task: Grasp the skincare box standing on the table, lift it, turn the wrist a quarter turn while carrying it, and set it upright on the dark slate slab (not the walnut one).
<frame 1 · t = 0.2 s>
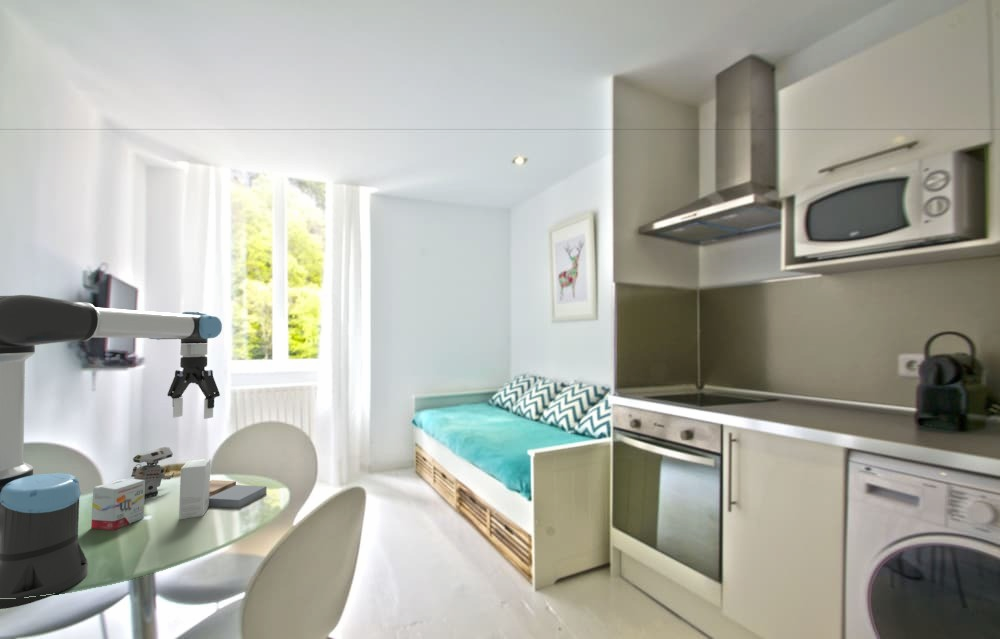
hand: (192, 417, 140), 27 cm above the table, fingers open, 13 cm apart
walnut stand: (211, 494, 141), on the table
ink box: (118, 523, 120), on the table
skincare box: (195, 513, 126), on the table
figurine: (153, 493, 144), on the table
slate slab: (237, 499, 136), on the table
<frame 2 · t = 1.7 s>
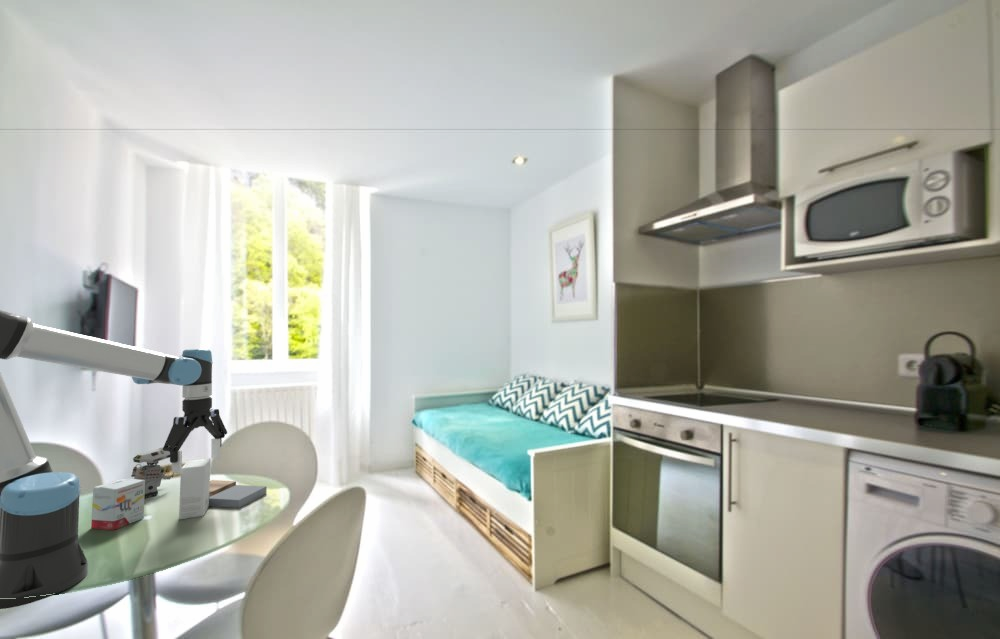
hand: (197, 465, 127), 15 cm above the table, fingers open, 13 cm apart
nothing on the table moved.
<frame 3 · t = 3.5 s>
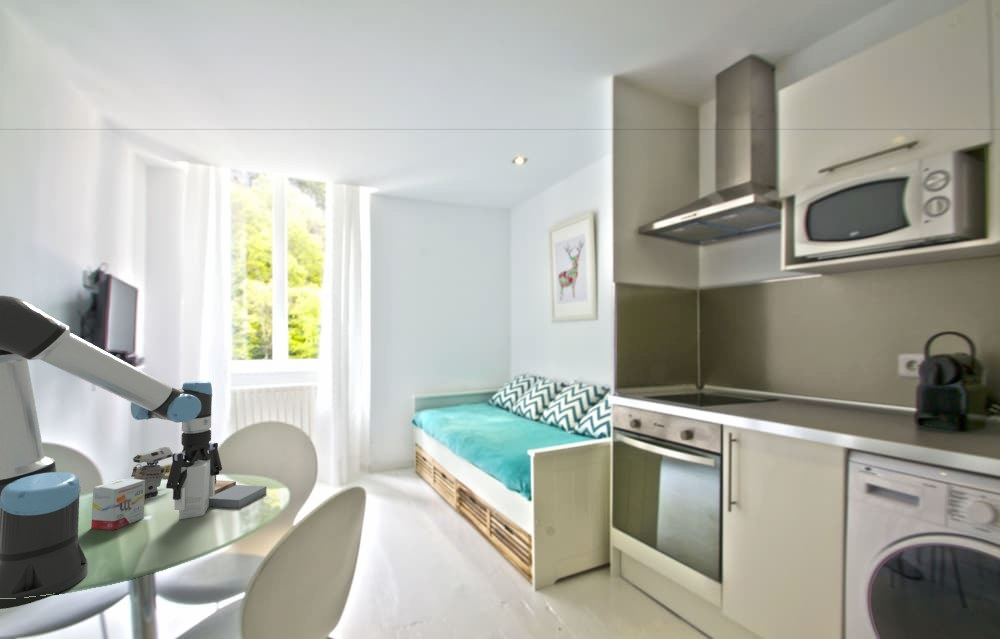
hand: (195, 502, 126), 3 cm above the table, fingers closed on skincare box, 10 cm apart
skincare box: (195, 513, 126), on the table, touching gripper
everything else where it was.
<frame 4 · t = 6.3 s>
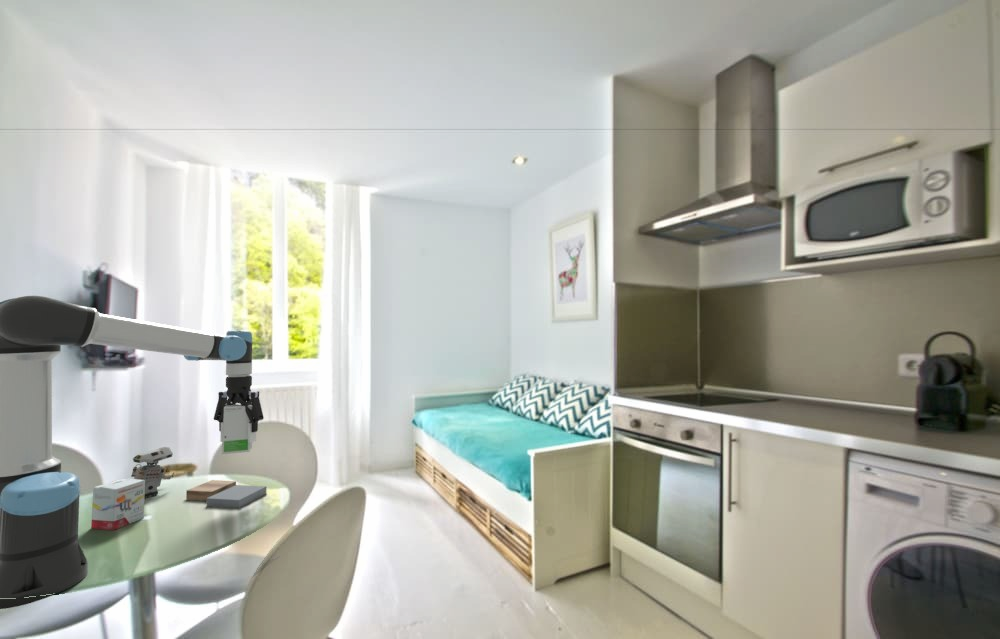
hand: (238, 441, 137), 19 cm above the table, fingers closed on skincare box, 10 cm apart
skincare box: (238, 451, 137), point 16 cm above the table, touching gripper
everything else where it was.
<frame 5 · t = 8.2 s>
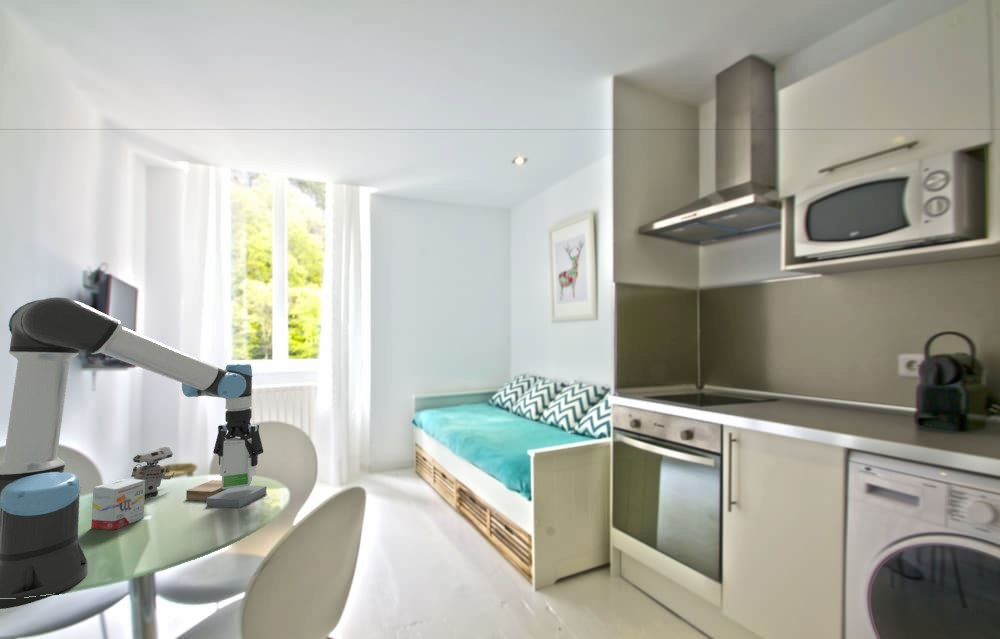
hand: (238, 475, 137), 8 cm above the table, fingers closed on skincare box, 10 cm apart
skincare box: (237, 485, 136), point 5 cm above the table, touching gripper
everything else where it was.
when the fingers open (7 cm above the table, at t = 9.4 s): skincare box drops 1 cm, resting on slate slab.
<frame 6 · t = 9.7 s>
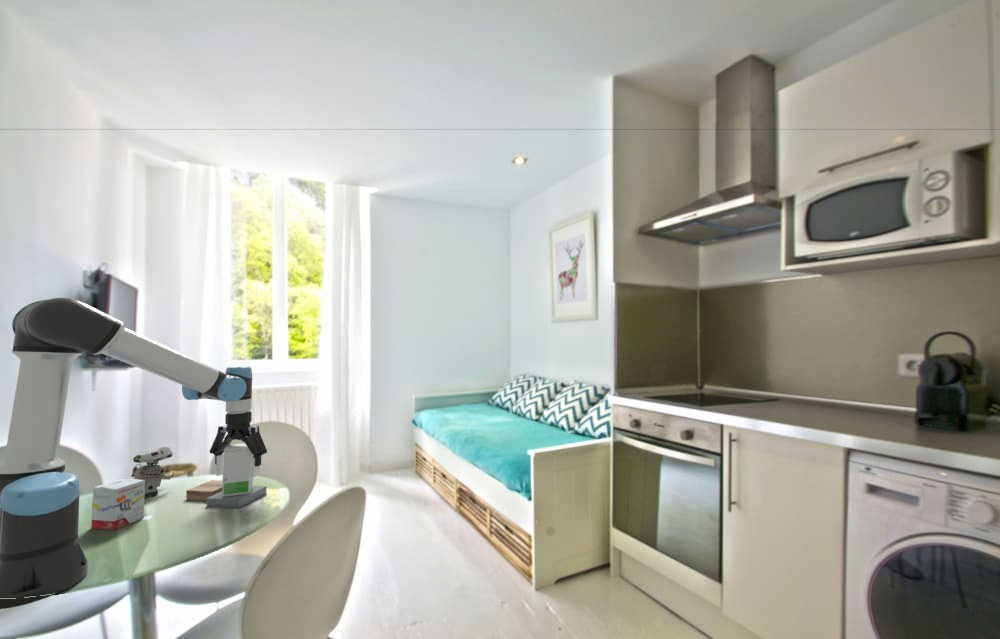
hand: (237, 475, 137), 8 cm above the table, fingers open, 13 cm apart
skincare box: (238, 492, 136), point 2 cm above the table, touching slate slab
everything else where it was.
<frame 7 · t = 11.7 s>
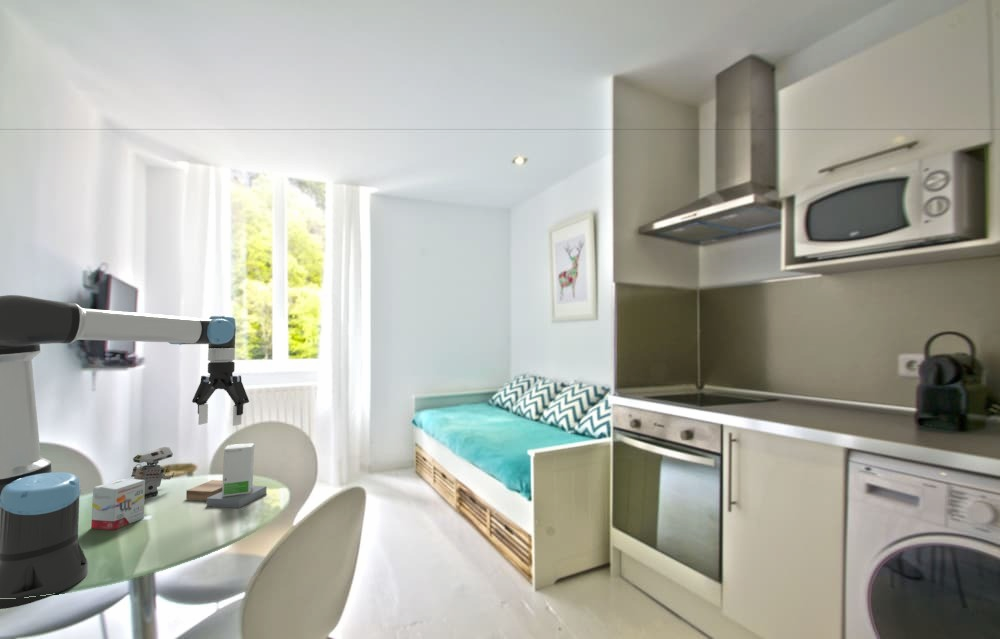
hand: (219, 424, 136), 25 cm above the table, fingers open, 13 cm apart
nothing on the table moved.
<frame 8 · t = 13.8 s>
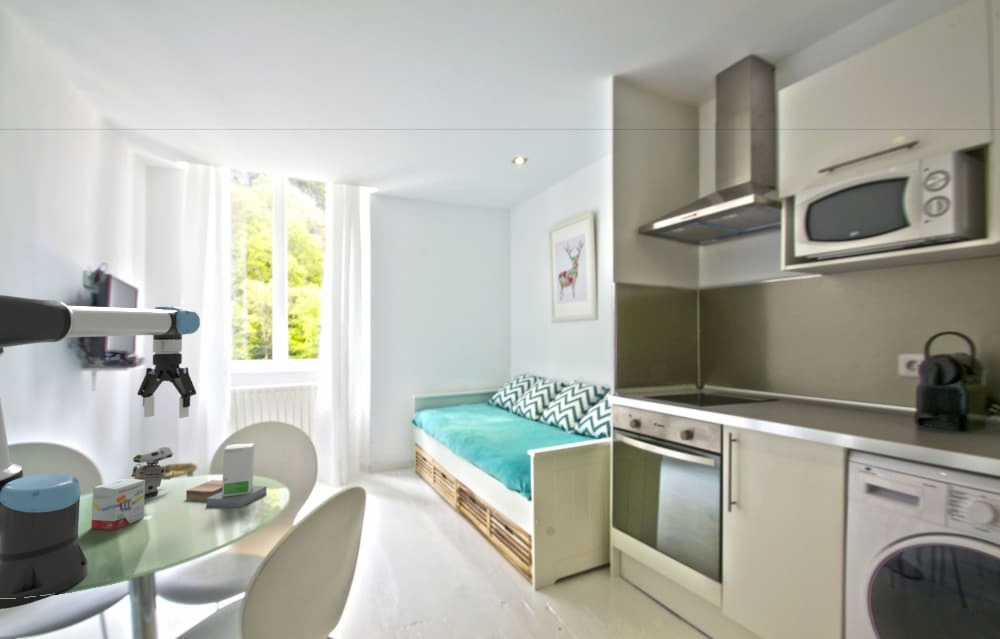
hand: (166, 417, 134), 29 cm above the table, fingers open, 13 cm apart
nothing on the table moved.
at the end: skincare box inside the target area on the slate slab (0.3 cm from its centre), point 2.3 cm above the slate slab's base; skincare box tilted 0°; the gripper is holding nothing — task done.
